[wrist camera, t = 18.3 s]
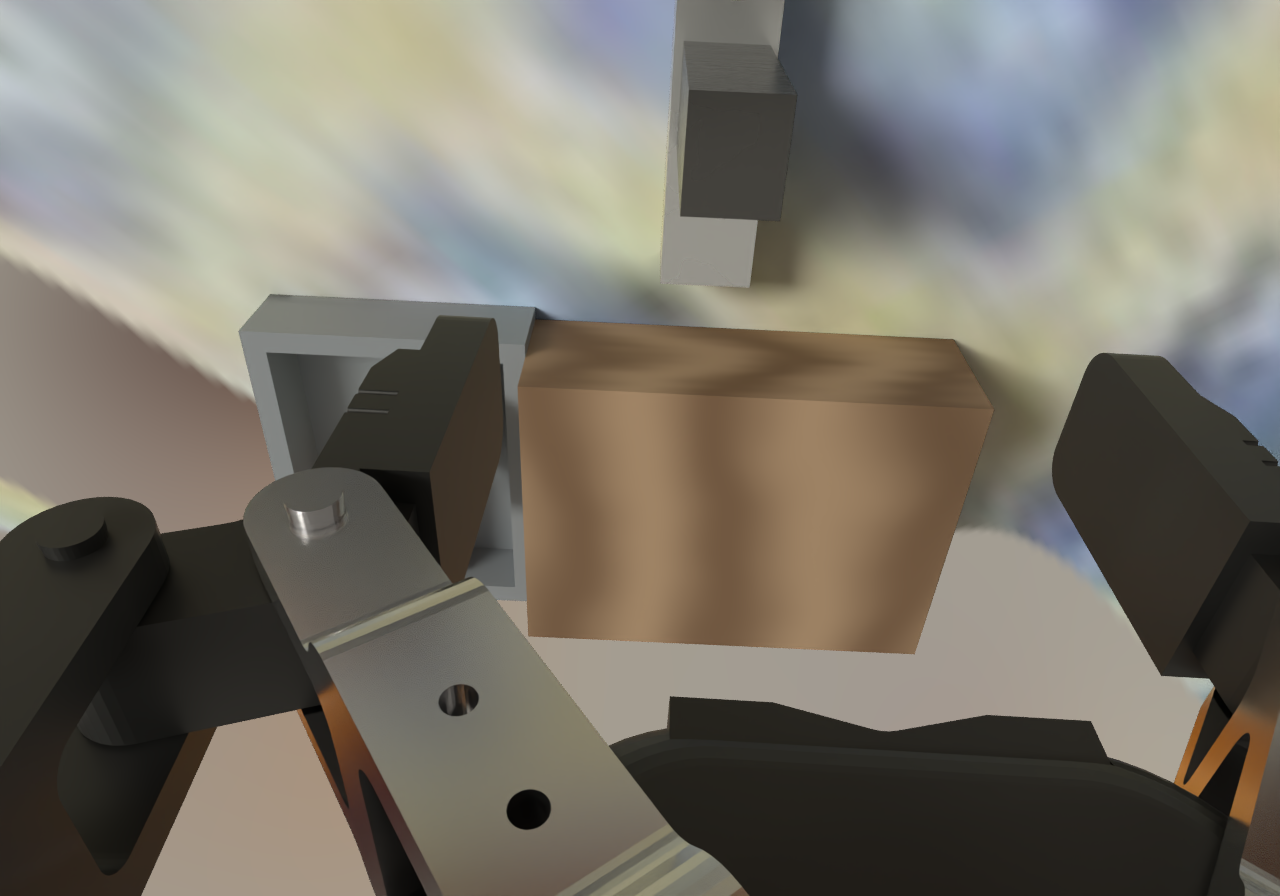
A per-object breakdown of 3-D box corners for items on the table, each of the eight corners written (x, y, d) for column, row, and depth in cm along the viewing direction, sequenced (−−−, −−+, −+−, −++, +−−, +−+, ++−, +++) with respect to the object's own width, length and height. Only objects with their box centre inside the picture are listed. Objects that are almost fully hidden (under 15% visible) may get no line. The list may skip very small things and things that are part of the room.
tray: (535, 307, 33) (524, 345, 30) (542, 554, 40) (534, 601, 38) (270, 294, 33) (238, 331, 30) (324, 544, 40) (302, 590, 38)
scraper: (788, -146, 25) (842, -141, 17) (742, 253, 32) (767, 377, 24) (683, -151, 25) (692, -148, 17) (660, 249, 32) (660, 372, 24)
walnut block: (953, 339, 33) (994, 409, 29) (889, 571, 40) (914, 654, 36) (535, 319, 33) (517, 386, 29) (542, 554, 40) (528, 636, 36)
